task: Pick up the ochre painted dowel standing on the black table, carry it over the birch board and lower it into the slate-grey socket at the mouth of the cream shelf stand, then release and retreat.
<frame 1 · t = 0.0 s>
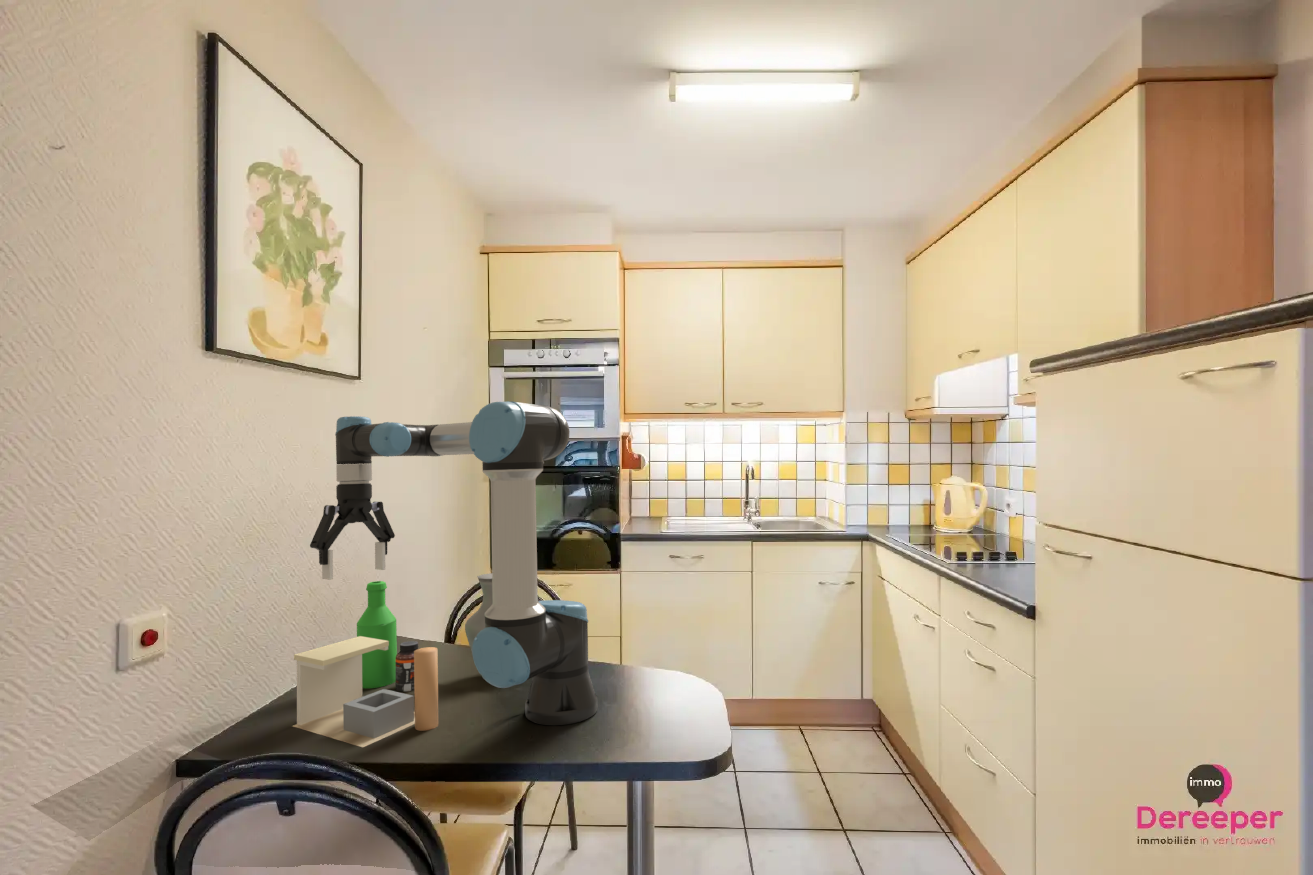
hand: (355, 574, 148), 28 cm above the table, fingers open, 13 cm apart
supplement bottle: (409, 692, 149), on the table
vase: (495, 677, 159), on the table
socket: (379, 725, 127), resting on board
peg: (426, 731, 126), on the table
cream shelf stand: (344, 715, 133), resting on board
bottle: (377, 687, 153), on the table
board: (363, 726, 130), on the table
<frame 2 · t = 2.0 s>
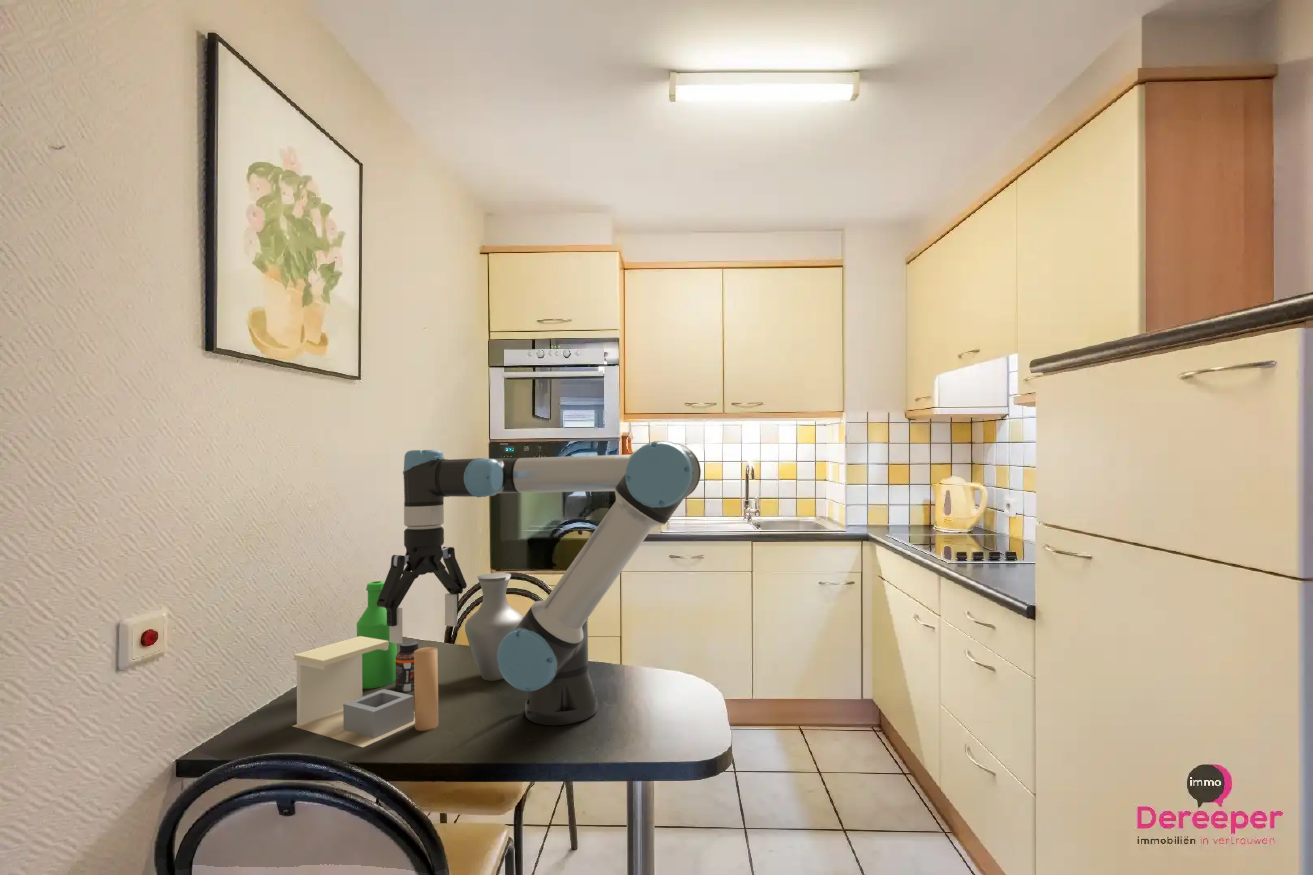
hand: (424, 633, 127), 19 cm above the table, fingers open, 13 cm apart
nothing on the table moved.
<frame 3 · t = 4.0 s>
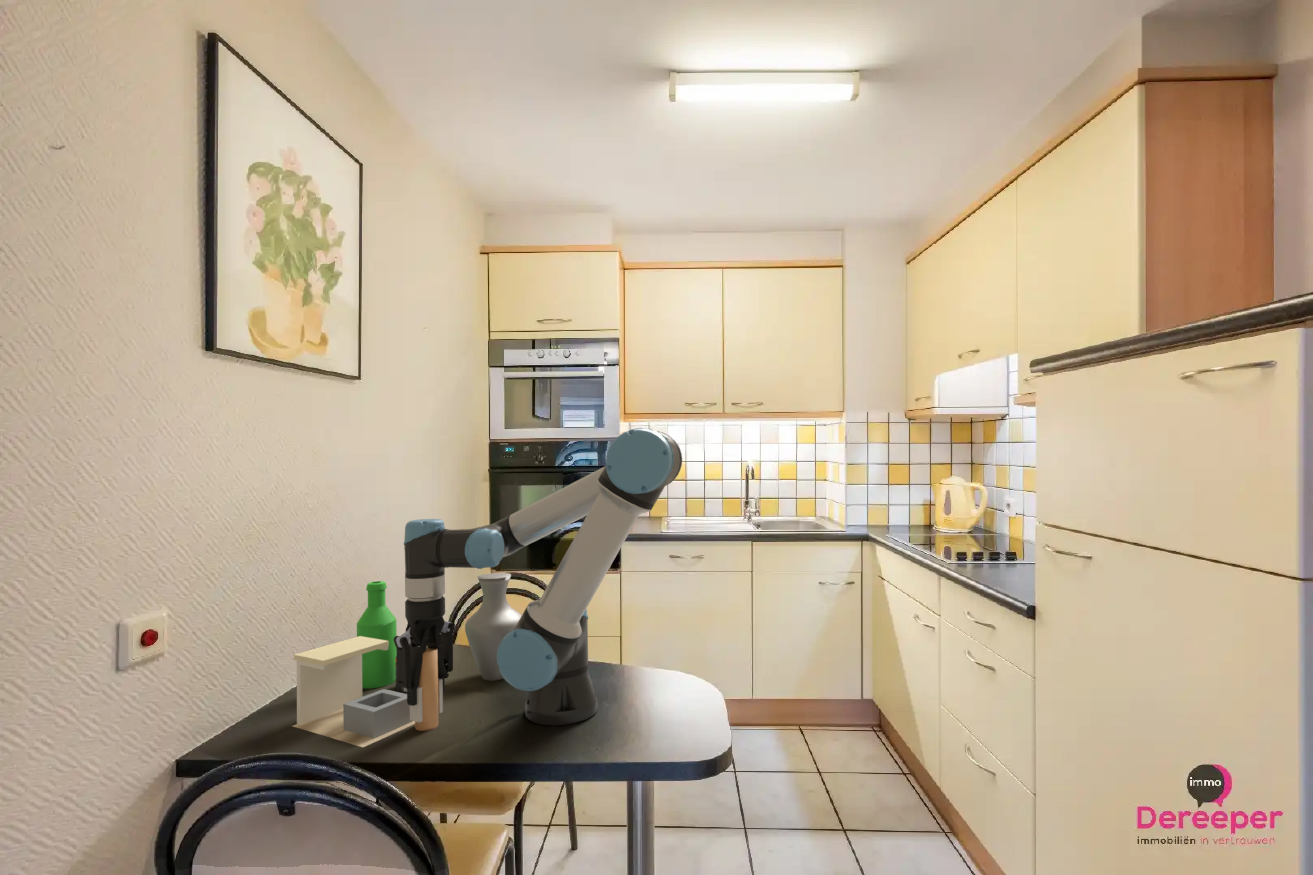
hand: (426, 715, 126), 3 cm above the table, fingers closed on peg, 4 cm apart
peg: (426, 731, 126), on the table, touching gripper
everything else where it was.
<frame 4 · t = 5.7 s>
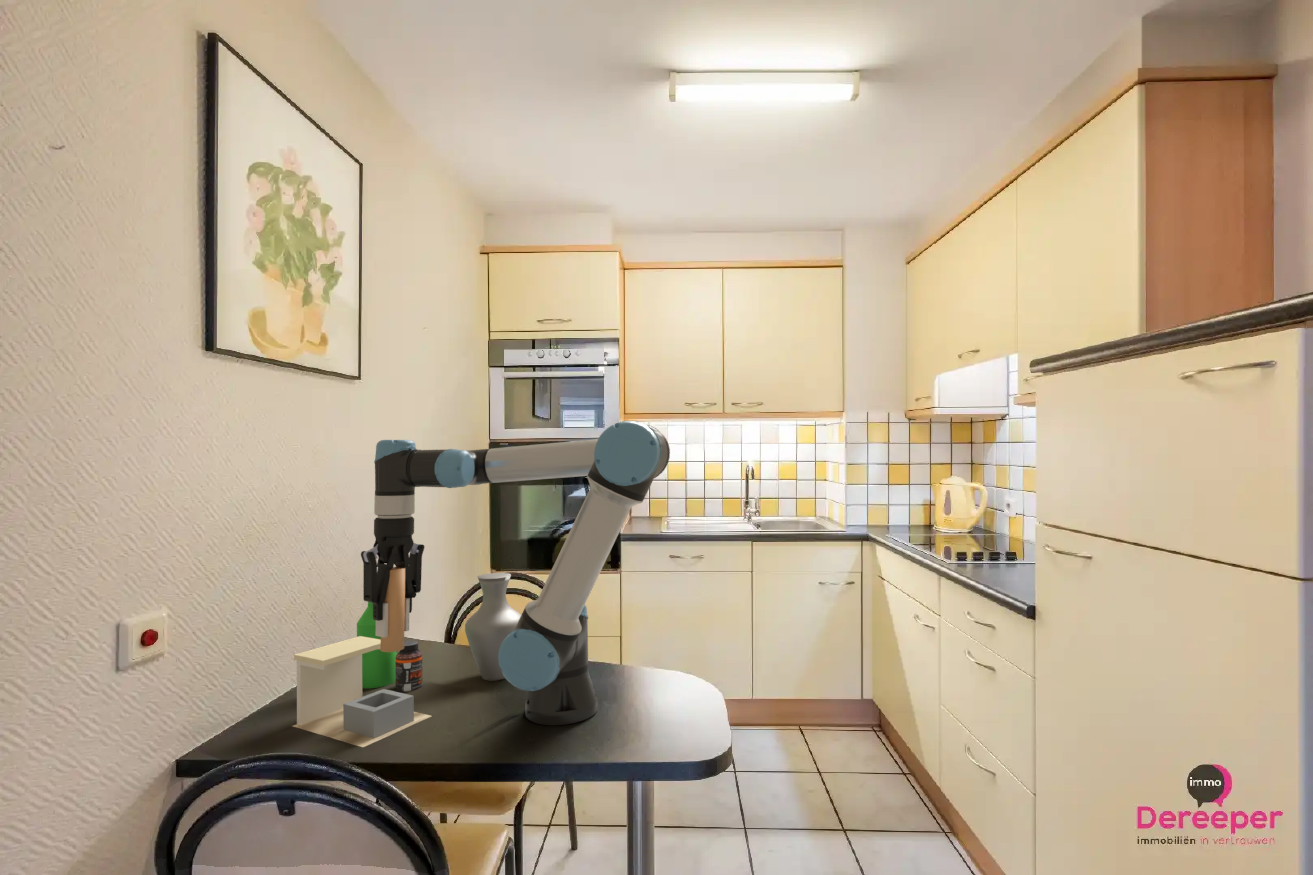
hand: (392, 632, 128), 19 cm above the table, fingers closed on peg, 4 cm apart
peg: (392, 648, 128), point 16 cm above the table, touching gripper
everything else where it was.
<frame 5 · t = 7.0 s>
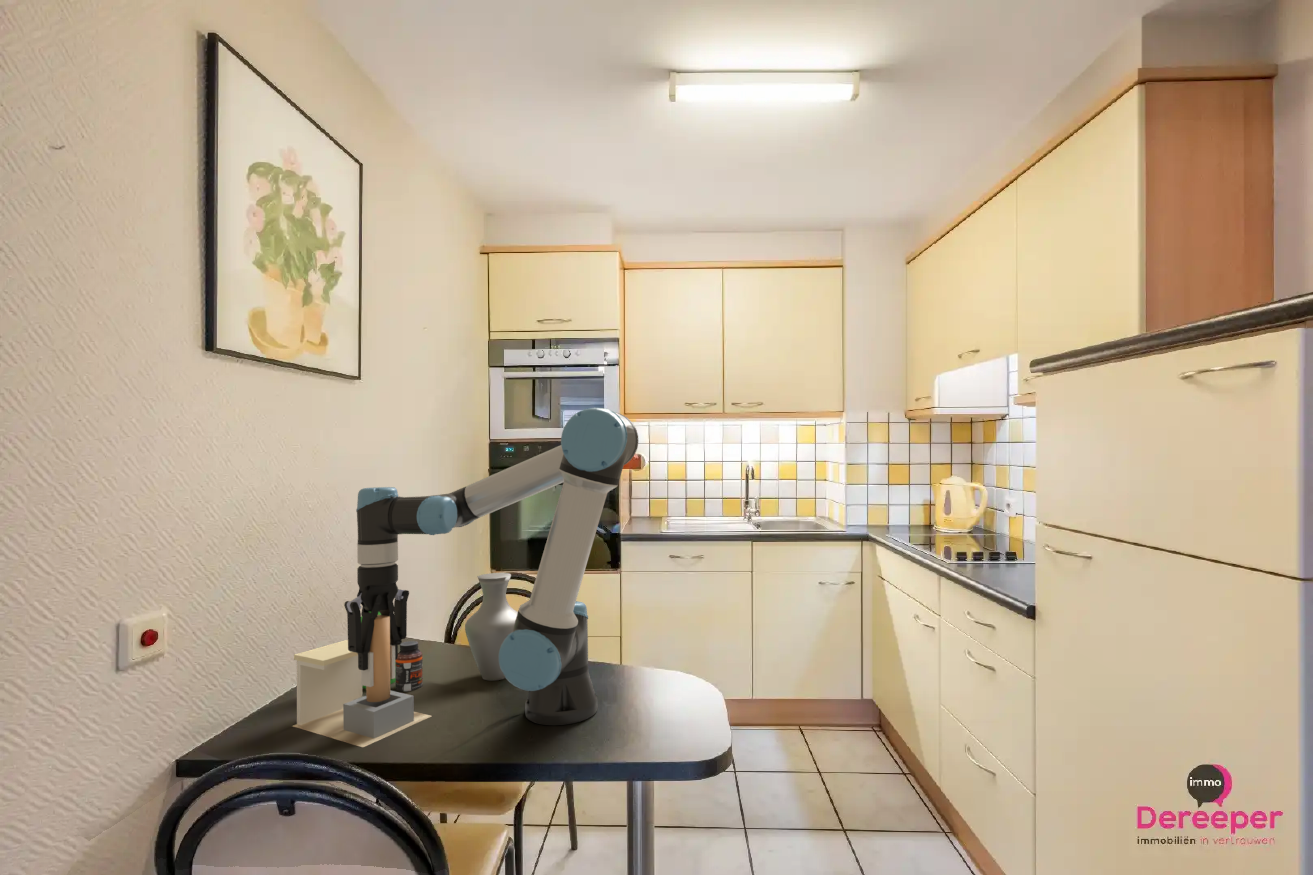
hand: (378, 681, 128), 10 cm above the table, fingers closed on peg, 4 cm apart
peg: (378, 697, 127), point 7 cm above the table, touching gripper
everything else where it was.
when the fingers open (8 cm above the table, at t = 7.7 s): peg drops 3 cm, resting on board.
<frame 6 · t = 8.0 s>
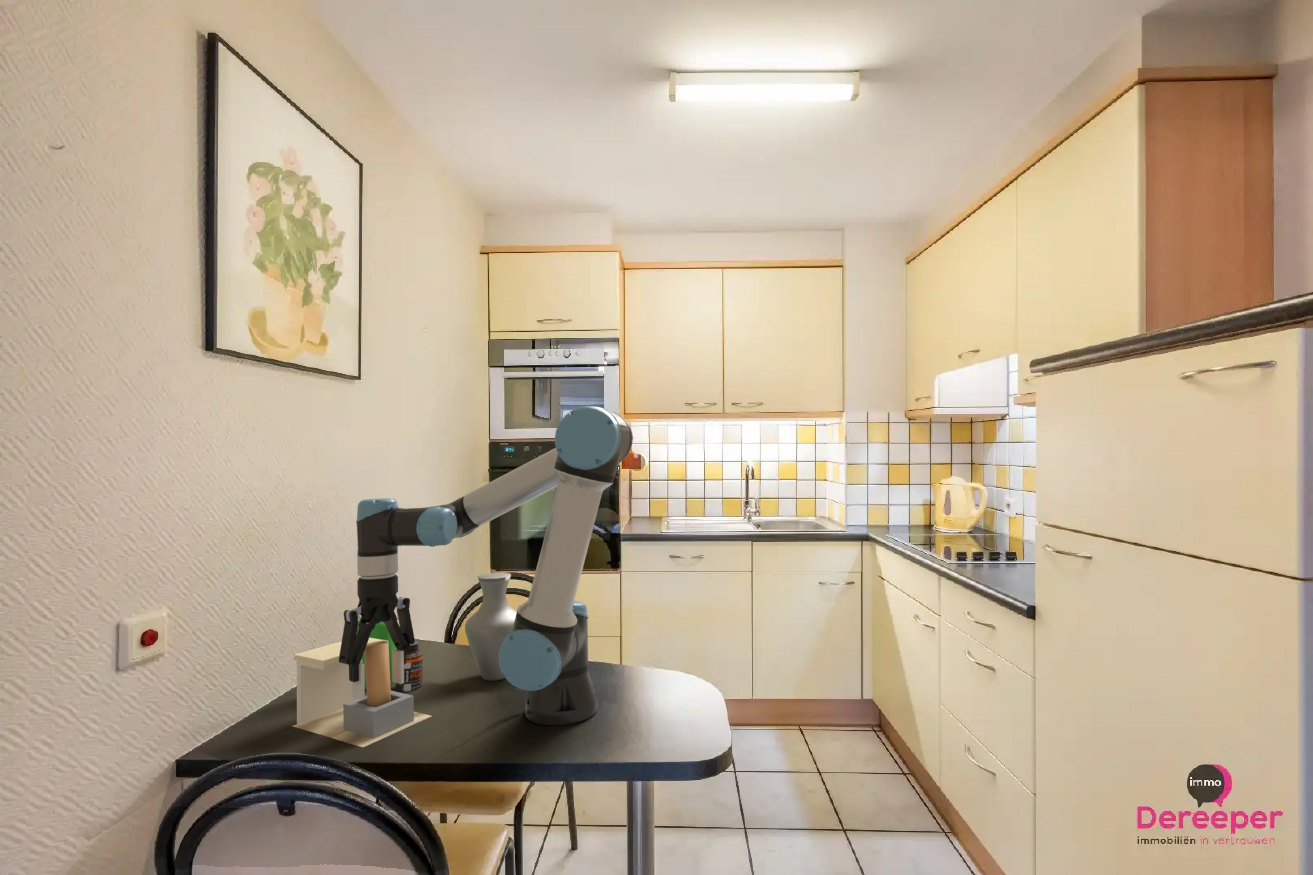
hand: (378, 689, 127), 8 cm above the table, fingers open, 8 cm apart
peg: (380, 724, 127), point 1 cm above the table, touching board
everything else where it was.
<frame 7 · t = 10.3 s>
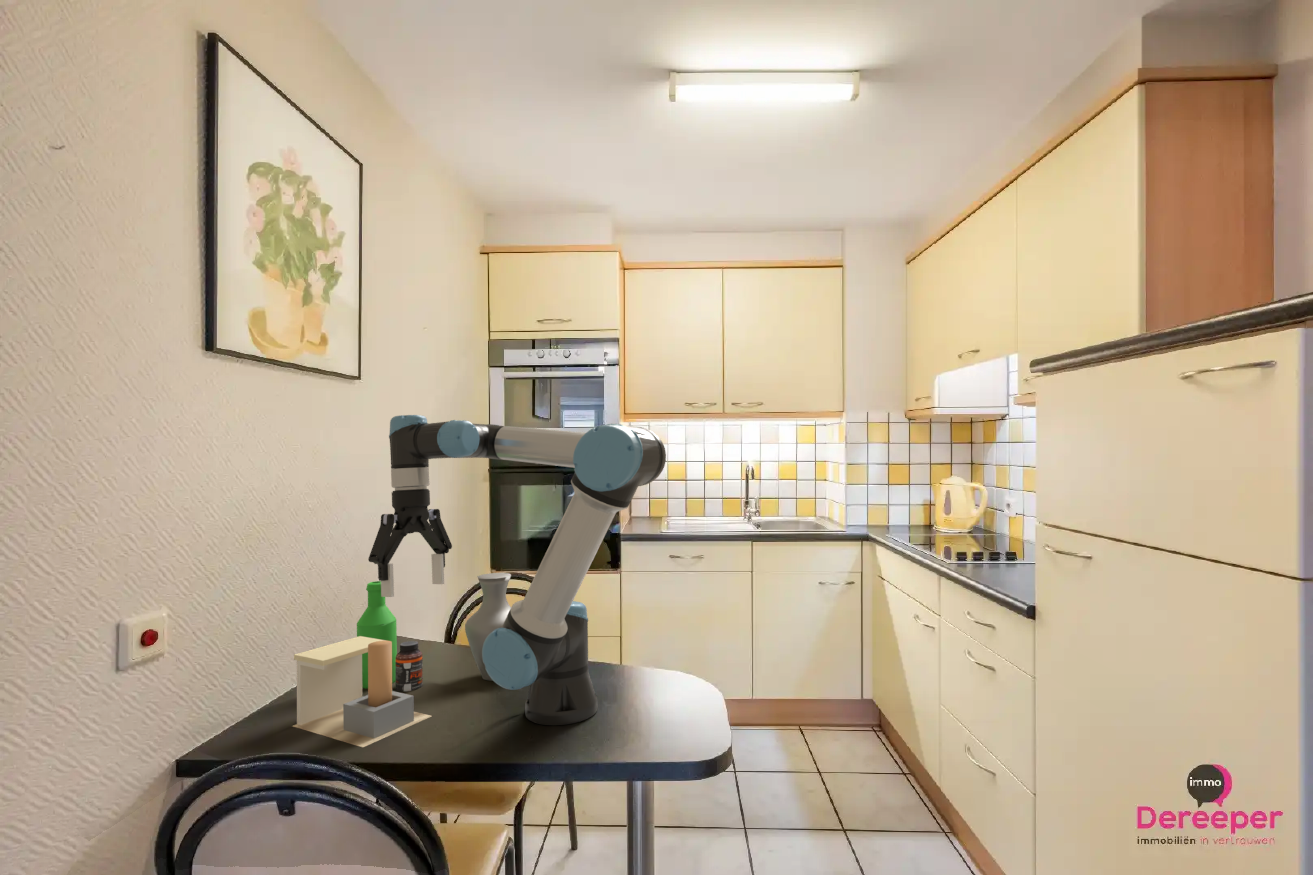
hand: (414, 590, 134), 27 cm above the table, fingers open, 13 cm apart
nothing on the table moved.
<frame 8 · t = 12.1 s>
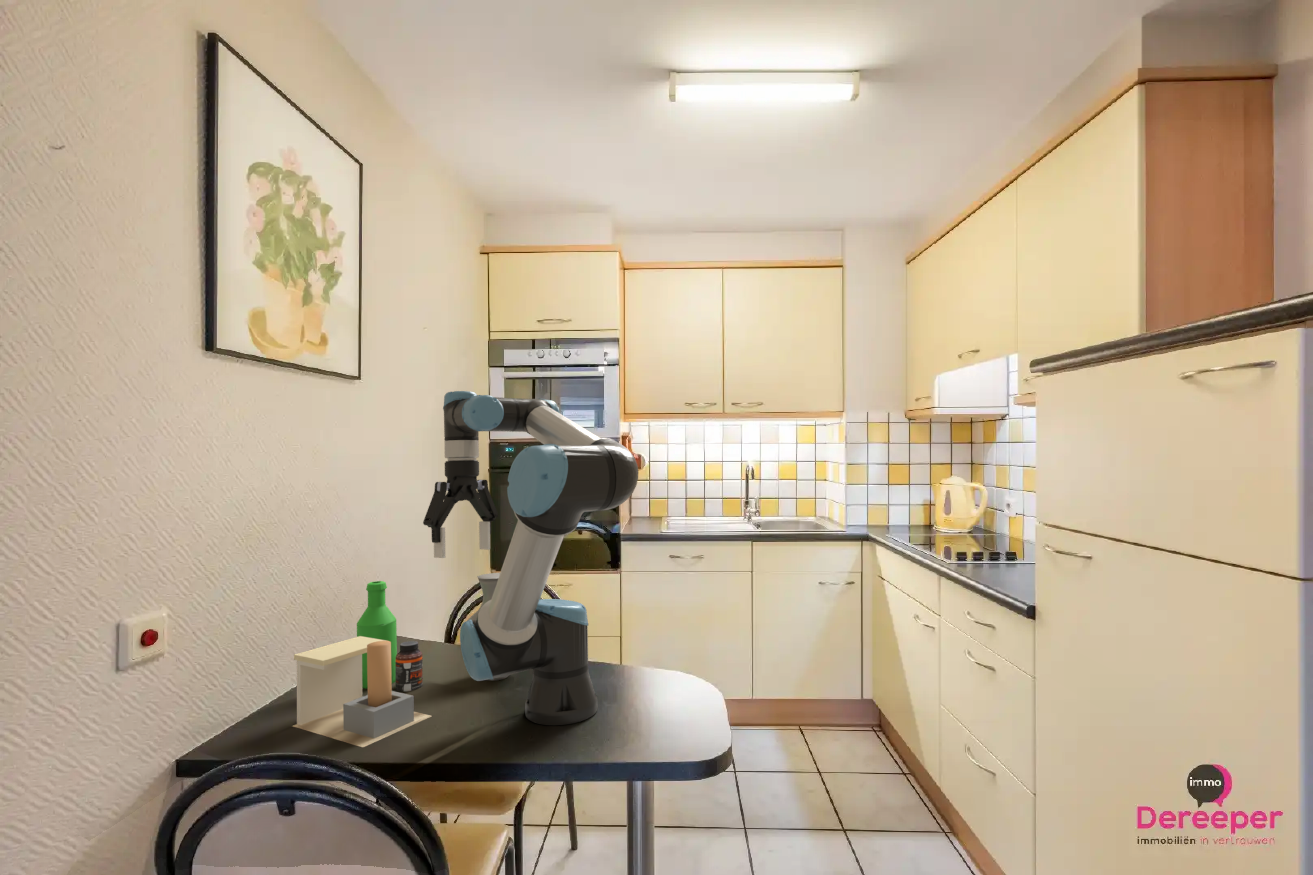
hand: (463, 553, 144), 33 cm above the table, fingers open, 13 cm apart
nothing on the table moved.
at the end: peg 0.3 cm off-centre on the socket, point 0.0 cm above the socket's base; peg tilted 1°; the gripper is holding nothing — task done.
